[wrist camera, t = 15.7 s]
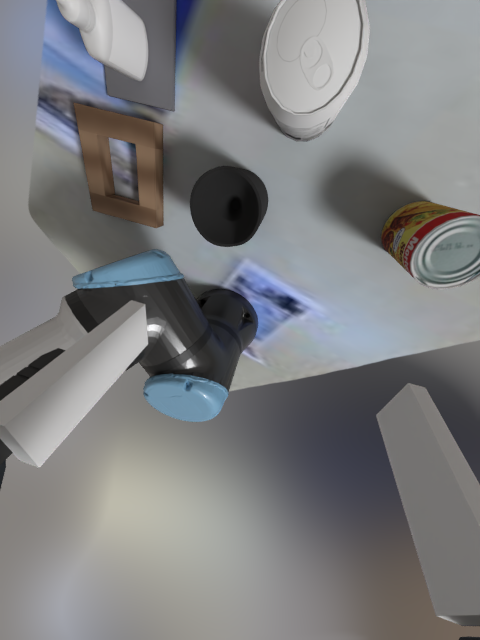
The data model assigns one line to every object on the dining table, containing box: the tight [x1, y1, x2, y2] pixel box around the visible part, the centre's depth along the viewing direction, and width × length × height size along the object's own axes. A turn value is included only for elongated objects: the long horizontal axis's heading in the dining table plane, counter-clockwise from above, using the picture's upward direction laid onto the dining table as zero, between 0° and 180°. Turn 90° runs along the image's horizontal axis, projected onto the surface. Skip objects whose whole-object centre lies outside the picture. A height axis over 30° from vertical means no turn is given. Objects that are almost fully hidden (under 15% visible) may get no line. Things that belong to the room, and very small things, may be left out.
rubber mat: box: [104, 0, 176, 111], centre depth 29 cm, size 10×10×1 cm
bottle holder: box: [74, 103, 163, 228], centre depth 37 cm, size 14×12×2 cm
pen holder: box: [190, 166, 268, 247], centre depth 33 cm, size 9×9×10 cm
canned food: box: [381, 201, 480, 289], centre depth 29 cm, size 8×8×12 cm
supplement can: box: [259, 0, 370, 141], centre depth 22 cm, size 8×8×15 cm
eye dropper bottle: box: [56, 0, 148, 81], centre depth 24 cm, size 4×6×12 cm
